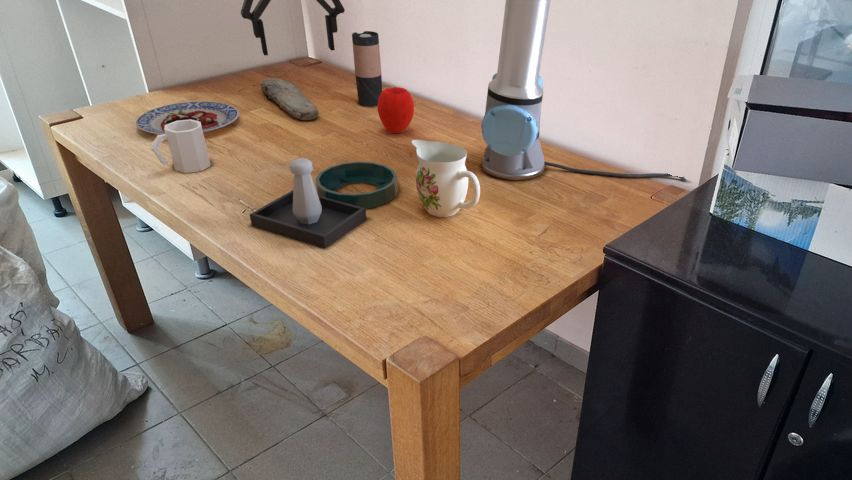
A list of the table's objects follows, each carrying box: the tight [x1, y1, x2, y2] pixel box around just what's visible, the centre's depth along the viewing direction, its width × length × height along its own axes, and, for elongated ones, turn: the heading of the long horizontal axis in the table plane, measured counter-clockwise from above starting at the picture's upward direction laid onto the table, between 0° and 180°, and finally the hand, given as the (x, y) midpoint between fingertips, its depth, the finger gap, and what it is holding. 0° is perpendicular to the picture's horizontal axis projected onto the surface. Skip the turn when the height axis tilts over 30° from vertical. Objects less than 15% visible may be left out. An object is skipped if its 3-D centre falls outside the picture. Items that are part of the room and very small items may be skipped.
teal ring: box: [315, 161, 399, 210], centre depth 146 cm, size 18×18×4 cm
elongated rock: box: [260, 77, 319, 121], centre depth 193 cm, size 35×5×10 cm
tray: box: [249, 189, 368, 249], centre depth 134 cm, size 19×14×3 cm
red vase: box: [376, 86, 415, 134], centre depth 175 cm, size 10×10×12 cm
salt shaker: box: [289, 157, 322, 224], centre depth 131 cm, size 6×6×13 cm
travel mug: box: [351, 30, 383, 108], centre depth 192 cm, size 8×8×20 cm
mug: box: [150, 120, 211, 174], centre depth 152 cm, size 12×9×10 cm
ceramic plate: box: [135, 100, 240, 135], centre depth 177 cm, size 26×26×3 cm
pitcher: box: [411, 138, 481, 218], centre depth 137 cm, size 11×18×14 cm, turn 53°
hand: (299, 51), depth 137 cm, fingers open, 13 cm apart
